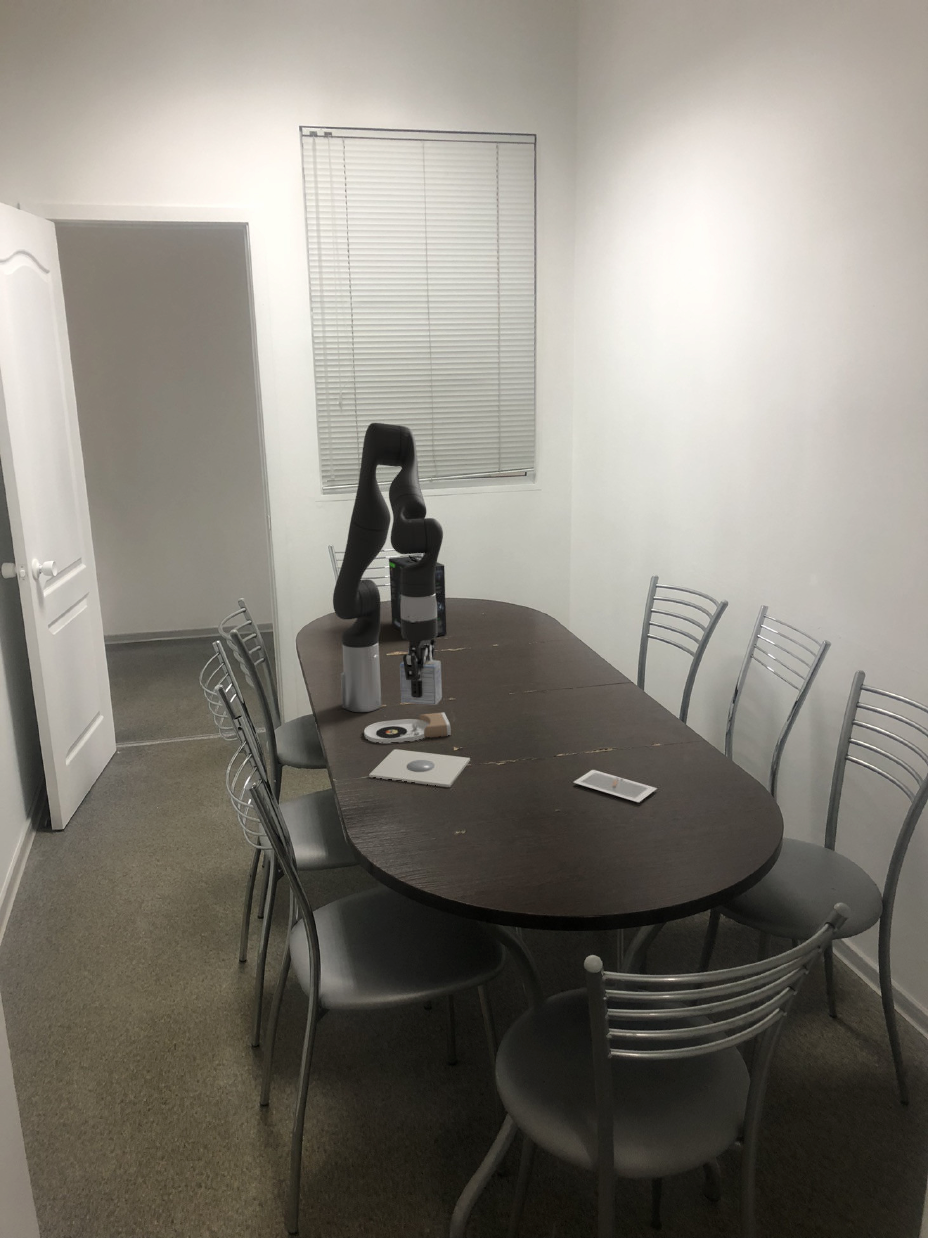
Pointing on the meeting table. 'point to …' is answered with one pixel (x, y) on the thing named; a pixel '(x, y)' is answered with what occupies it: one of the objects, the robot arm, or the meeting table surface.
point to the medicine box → (423, 684)
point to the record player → (409, 729)
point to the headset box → (395, 589)
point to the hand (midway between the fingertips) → (421, 692)
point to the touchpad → (615, 785)
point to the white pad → (420, 767)
